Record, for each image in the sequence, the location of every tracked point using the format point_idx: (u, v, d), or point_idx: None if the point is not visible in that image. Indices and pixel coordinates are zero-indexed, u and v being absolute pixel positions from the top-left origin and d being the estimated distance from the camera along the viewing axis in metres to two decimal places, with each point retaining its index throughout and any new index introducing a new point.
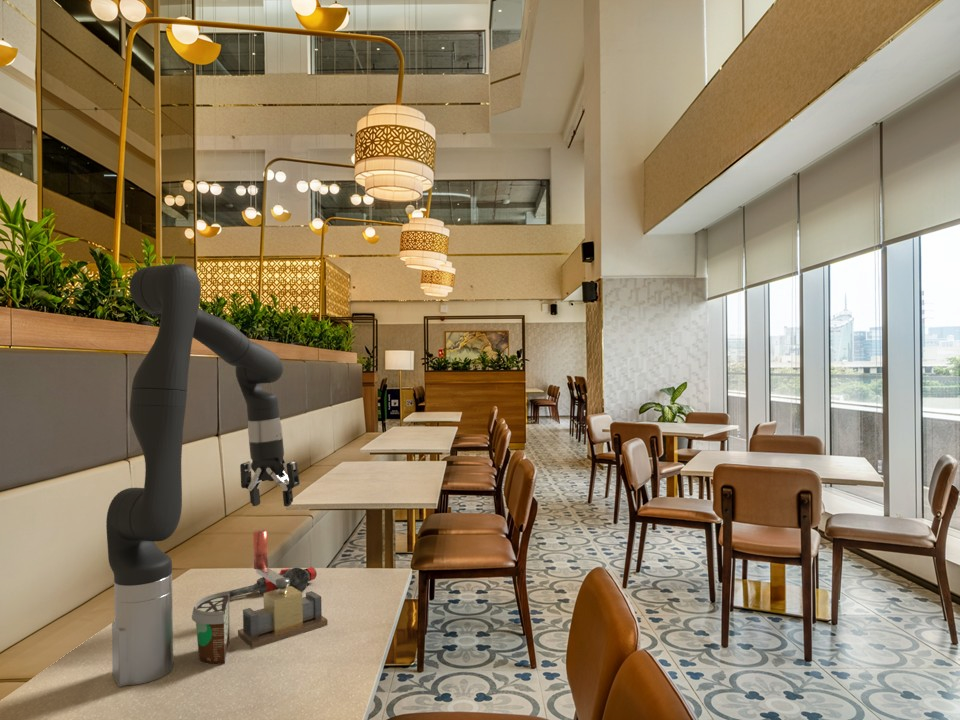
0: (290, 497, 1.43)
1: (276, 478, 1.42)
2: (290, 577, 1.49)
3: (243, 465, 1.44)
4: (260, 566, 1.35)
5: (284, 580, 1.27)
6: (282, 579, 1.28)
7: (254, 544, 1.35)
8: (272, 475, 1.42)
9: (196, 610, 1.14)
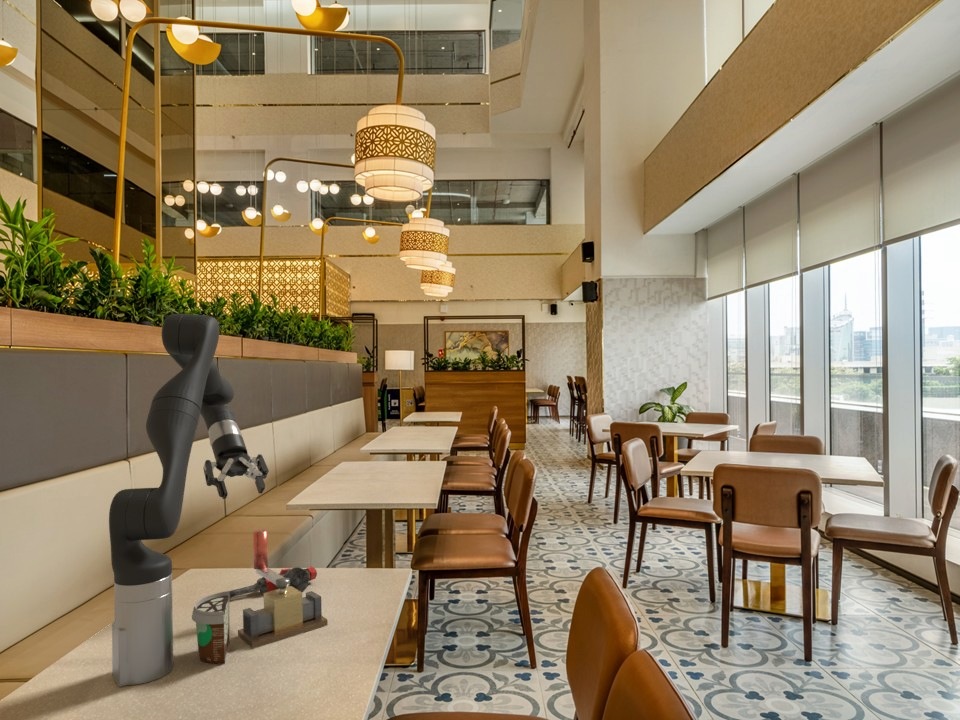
0: None
1: (250, 465, 1.50)
2: (291, 577, 1.49)
3: (209, 461, 1.46)
4: (260, 566, 1.35)
5: (284, 580, 1.27)
6: (282, 579, 1.28)
7: (254, 544, 1.35)
8: (245, 463, 1.49)
9: (196, 610, 1.14)
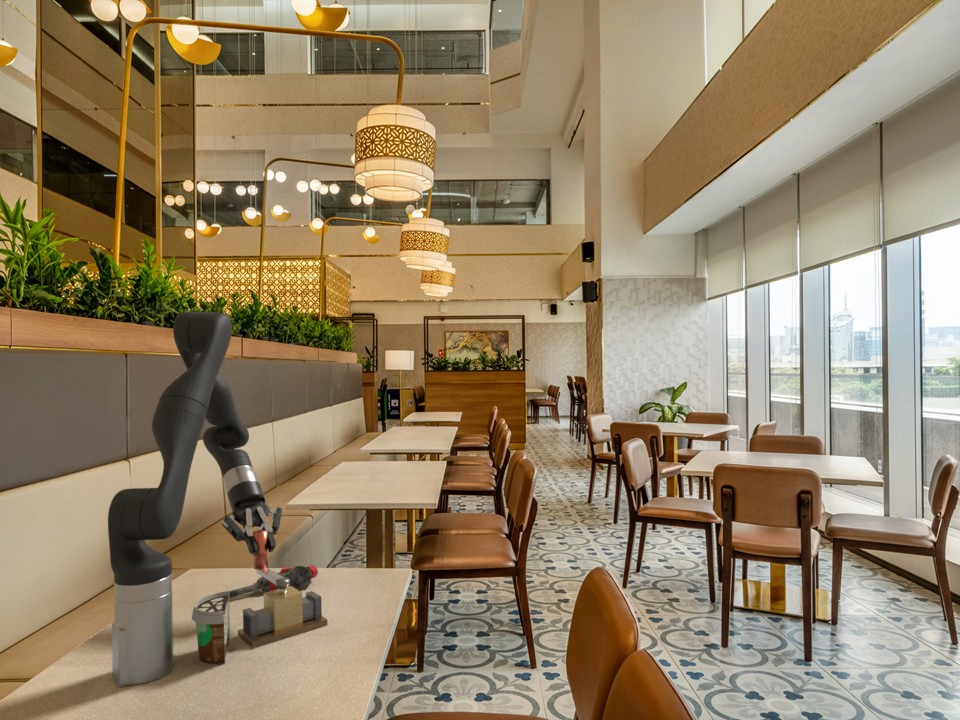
0: None
1: (265, 518, 1.39)
2: (293, 575, 1.50)
3: (227, 516, 1.36)
4: (260, 566, 1.35)
5: (284, 580, 1.27)
6: (282, 579, 1.28)
7: None
8: (261, 514, 1.40)
9: (196, 610, 1.14)
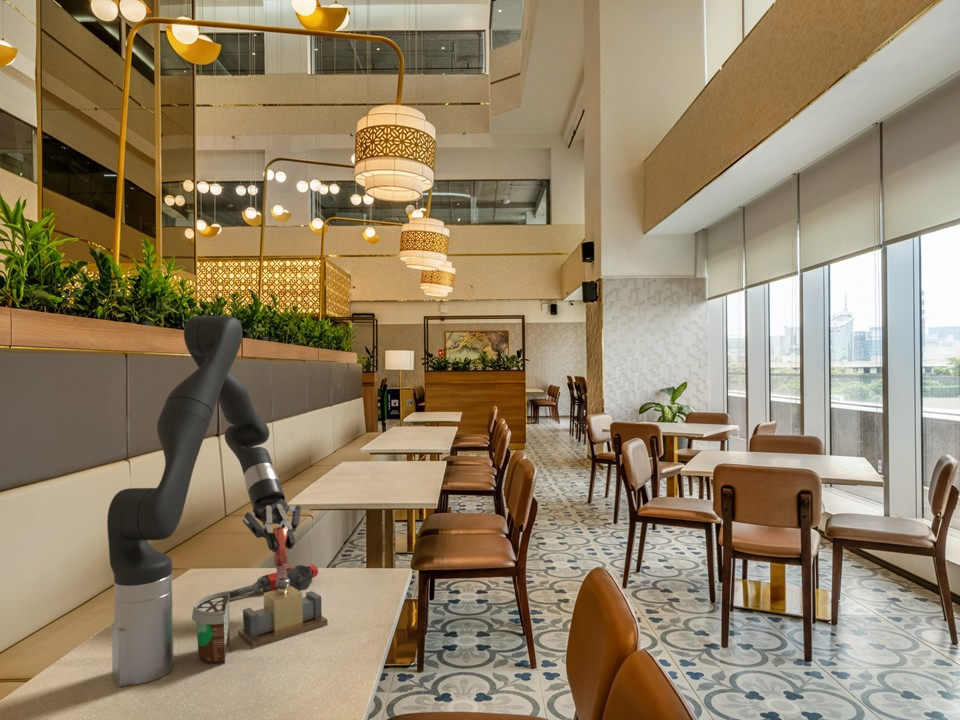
0: None
1: (284, 515, 1.42)
2: (294, 575, 1.50)
3: (248, 513, 1.38)
4: (278, 563, 1.37)
5: (283, 580, 1.27)
6: (283, 579, 1.28)
7: None
8: (281, 511, 1.42)
9: (196, 610, 1.14)
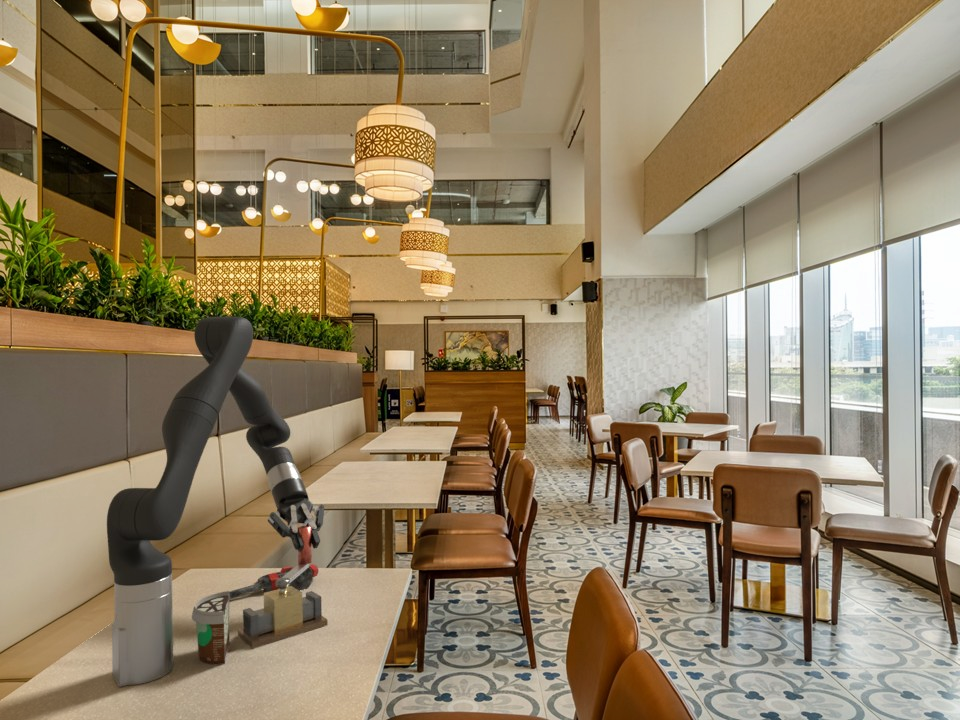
0: None
1: (309, 515, 1.42)
2: None
3: (273, 513, 1.39)
4: (300, 561, 1.38)
5: (281, 580, 1.27)
6: (283, 579, 1.28)
7: None
8: (305, 511, 1.42)
9: (196, 610, 1.14)
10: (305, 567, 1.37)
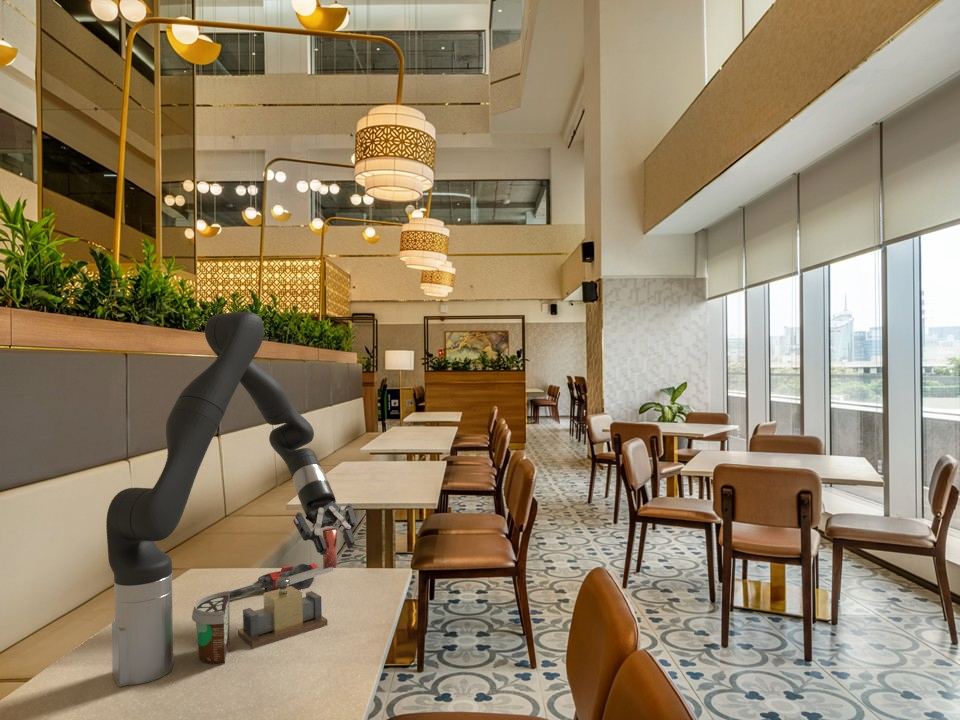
0: None
1: (339, 516, 1.39)
2: (297, 573, 1.51)
3: (300, 513, 1.35)
4: (323, 563, 1.36)
5: (280, 580, 1.27)
6: (284, 579, 1.28)
7: None
8: (335, 513, 1.39)
9: (196, 610, 1.14)
10: (324, 571, 1.34)
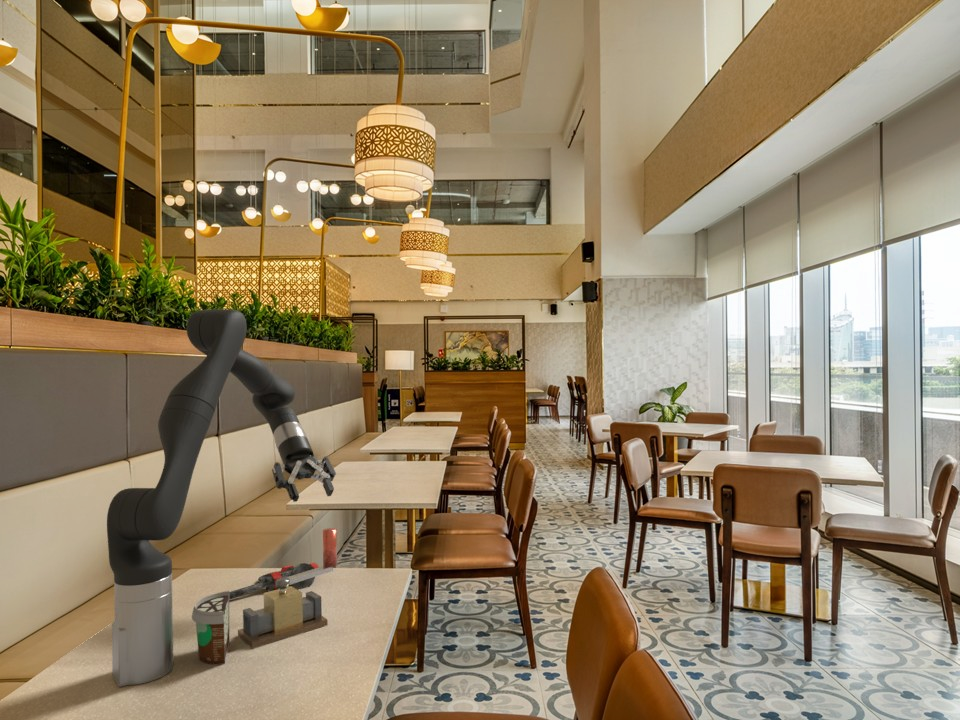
0: None
1: (318, 467, 1.48)
2: (298, 572, 1.52)
3: (278, 463, 1.44)
4: (323, 563, 1.36)
5: (280, 580, 1.27)
6: (284, 579, 1.28)
7: None
8: (313, 465, 1.48)
9: (196, 610, 1.14)
10: (324, 571, 1.34)
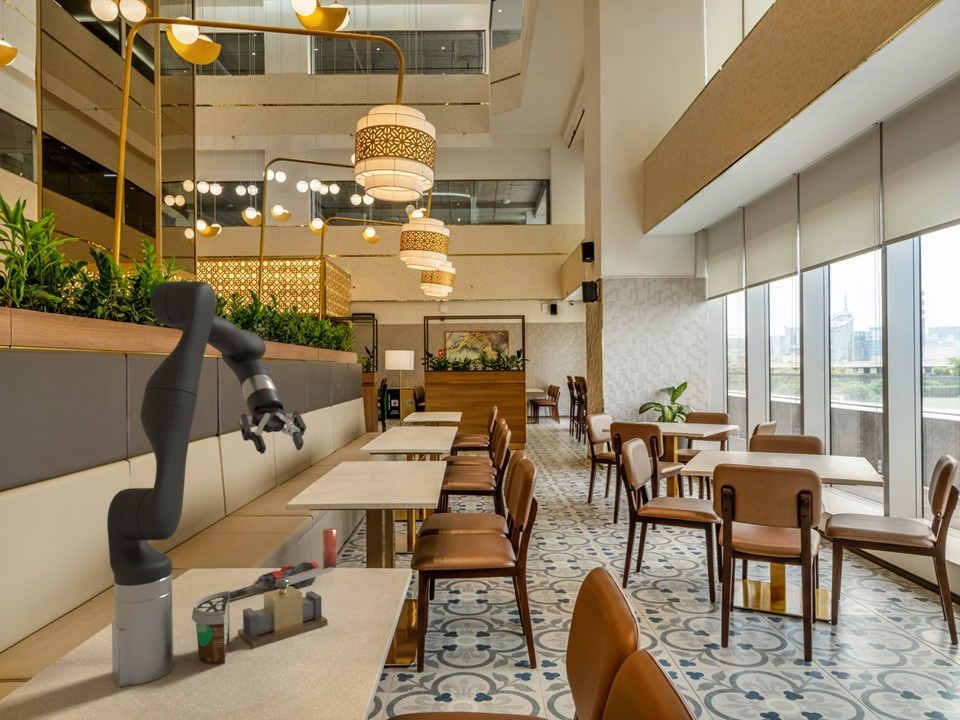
0: None
1: (287, 420, 1.42)
2: (299, 571, 1.53)
3: (245, 415, 1.38)
4: (323, 563, 1.36)
5: (280, 580, 1.27)
6: (284, 579, 1.28)
7: None
8: (282, 418, 1.42)
9: (196, 610, 1.14)
10: (324, 571, 1.34)
